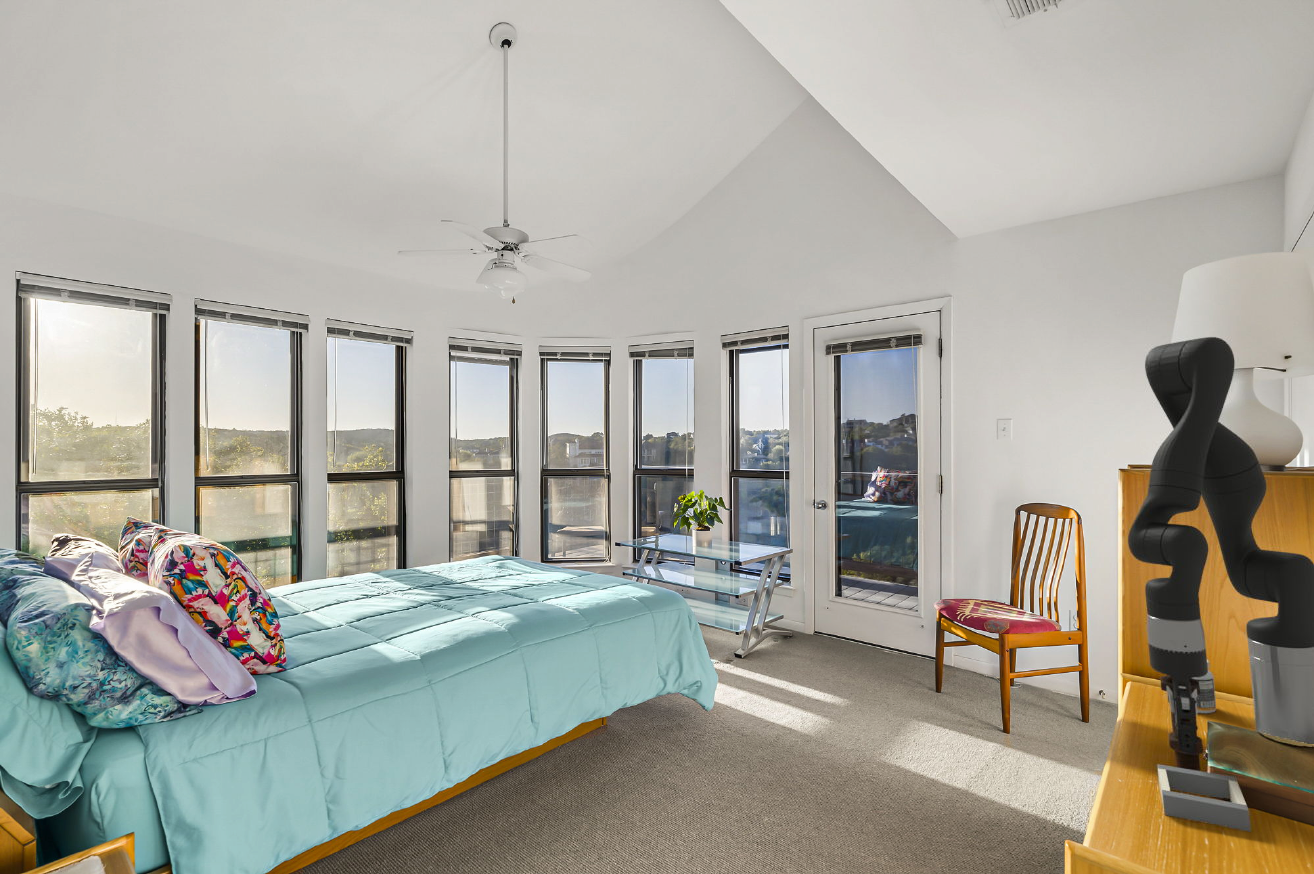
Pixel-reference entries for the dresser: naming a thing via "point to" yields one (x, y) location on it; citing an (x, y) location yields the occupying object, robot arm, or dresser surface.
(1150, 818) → the dresser surface
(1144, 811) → the dresser surface
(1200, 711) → the pill bottle
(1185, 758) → the bolt
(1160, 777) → the grey white square frame
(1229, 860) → the dresser surface
